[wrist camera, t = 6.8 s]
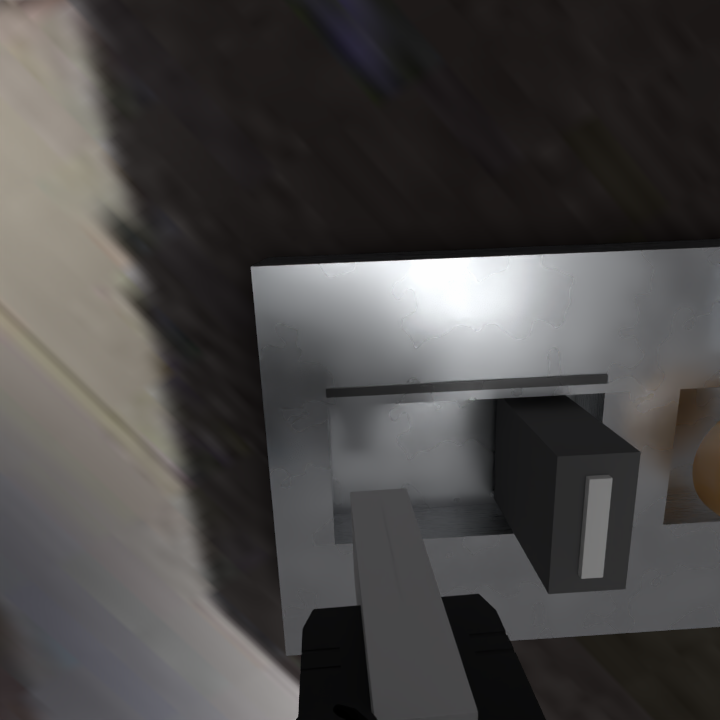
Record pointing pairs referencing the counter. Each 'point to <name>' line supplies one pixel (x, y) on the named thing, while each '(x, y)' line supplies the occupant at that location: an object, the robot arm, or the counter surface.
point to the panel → (489, 415)
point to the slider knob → (566, 492)
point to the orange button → (708, 469)
